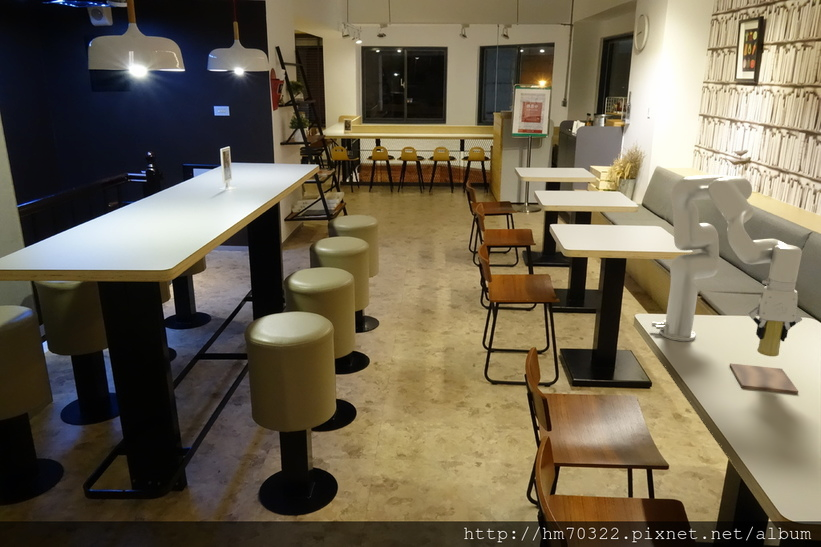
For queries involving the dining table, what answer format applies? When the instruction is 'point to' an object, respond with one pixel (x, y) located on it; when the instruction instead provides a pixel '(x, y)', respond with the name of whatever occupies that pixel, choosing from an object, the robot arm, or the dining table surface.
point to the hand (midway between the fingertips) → (770, 338)
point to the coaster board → (763, 378)
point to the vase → (771, 338)
